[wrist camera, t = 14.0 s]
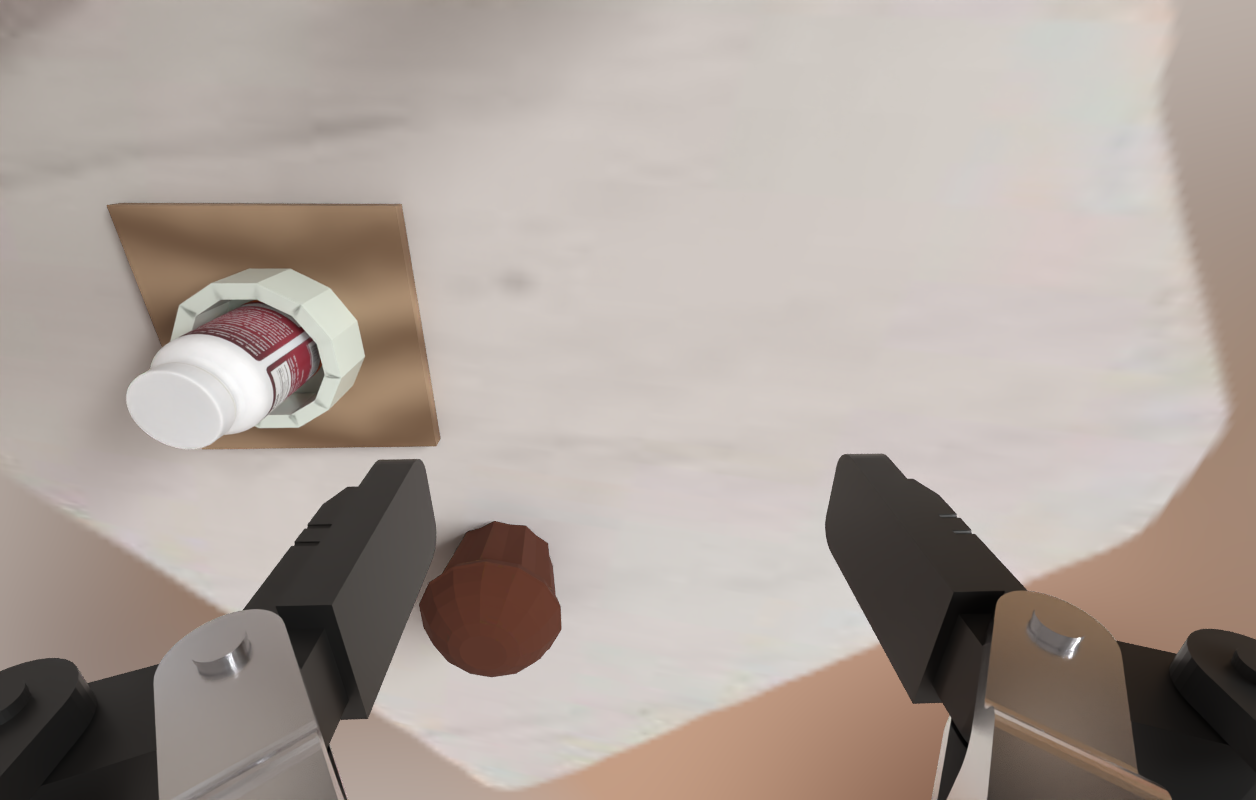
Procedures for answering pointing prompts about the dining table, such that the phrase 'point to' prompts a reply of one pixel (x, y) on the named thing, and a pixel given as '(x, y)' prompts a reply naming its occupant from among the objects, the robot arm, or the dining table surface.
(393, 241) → the walnut board
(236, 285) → the pale green bowl
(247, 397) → the pill bottle
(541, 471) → the dining table surface
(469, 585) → the muffin
